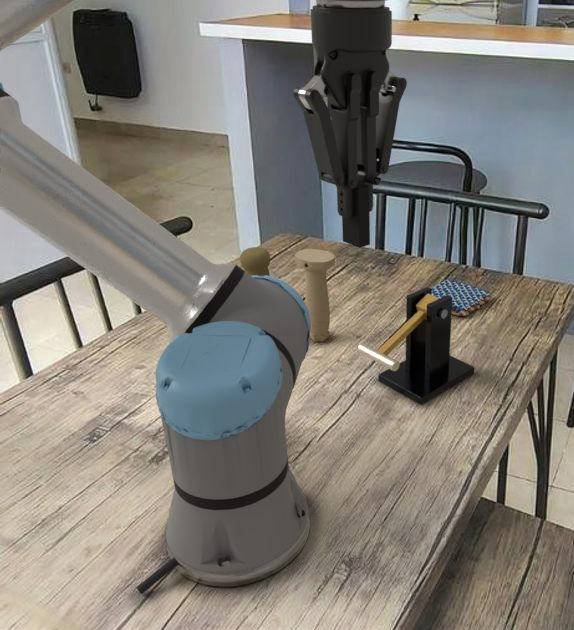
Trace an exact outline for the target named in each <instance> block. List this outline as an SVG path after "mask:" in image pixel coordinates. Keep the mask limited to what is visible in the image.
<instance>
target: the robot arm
mask: <svg viewBox="0 0 574 630" xmlns="http://www.w3.org/2000/svg"><path fill="white" fill-rule="evenodd" d="M78 1H79V0H0V52H1V51H3V50H4V49H5V48H7V47H9V46H10V45H12V44H14V43H15V42H16V41H18V40H19V39H21V38H23V37H24V36H26V35H28V34H29V33H30V32H32V31H34V30H35V29H36V28H38V27H40V26H41V25H42V24H44V23H45V22H48V21H49V20H51V19H52V18H54V17H55V16H57V15H58V14H60V13H61V12H62V11H64V10H66V9H67V8H69V7H70V6H72V5H73V4H75V3H77V2H78ZM386 1H387V0H315V5H313V6H312V8H310V29H311V30H310V31H311V32H310V33H311V44H312V45H313V47H314V50H315V52H316V58H315V62H314V66H313V73H312V74H313V76H312V78H311V79H310V80H309V81H308V83H306V84H305V86H301V85H298V86H295V87H294V88H293V92H292V95H293V97H294V100H295V101H296V103H297V104H298V106H299V107H300V109H301V111H302V112H303V116H304V121H305V125H306V128H307V132H308V136H309V141H310V145H311V148H312V152H313V157H314V160H315V164H316V169H317V172H318V176H319V179H320V180H321V181H322V182H326V183H328V184H332V185H334V186H335V188H336V201H337V213H338V215H339V216H340V217H341V218H342V219H341V220H342V221H341V225H342V228H341V229H342V242H344V243H346V244H349V245H350V246H353V247H356V248H358V249H361V248H364V247H366V246H369V245H371V225H370V224H371V219H370V217H371V216H370V215H371V212H372V211H373V208H374V186H378V185H380V184H381V182H382V177H379V176H380V175H385V174H387V173H388V171H389V168H390V162H391V155H392V150H393V143H394V139H395V132H396V126H397V121H398V116H399V115H398V114H399V108H400V102H401V100H402V97H403V95H404V94H405V91H406V88H407V85H408V82H407V79H406V77H401V76H396V75H395V74H394V73H393V72H392V71H391V70H390V62H389V59H388V57H387V50H389V49H390V48H391V47H392V43H393V12H392V10H391V9H390V7H389V6H386ZM0 211H2V212H3V213H4V214H6V215H7V216H9V217H10V218H11V219H13V220H14V221H16V222H18V223H19V224H20V225H22V226H23V227H25V228H26V229H28V230H29V231H31V232H32V233H33V234H35V235H36V236H38V237H39V238H41V239H42V240H43V241H45V242H46V243H48V244H49V245H51V246H52V247H54V248H55V249H57V250H58V251H59V252H61V253H62V254H64V255H66V256H67V257H68V258H69V259H71V260H72V261H73V262H75V263H77V264H78V265H79V266H81V267H82V268H84V269H85V270H86V271H88V272H90V273H91V274H92V275H94V276H95V277H97V278H98V279H100V280H101V281H102V282H104V283H106V284H107V285H108V286H110V288H112V289H114V290H116V291H117V292H118V293H120V294H121V295H123V296H124V297H126V298H127V299H128V300H130V301H132V303H134V304H136V305H137V306H139V307H140V308H142V309H143V310H145V311H146V312H147V313H149V314H150V315H152V316H153V317H154V318H156V319H157V320H159V321H160V322H162V323H163V324H164V325H165V327H166V330H167V331H166V332H167V337H168V343H169V344H168V345H167V346H166V347H165V348H164V350H163V351H162V353H161V355H160V357H159V359H158V360H157V363H156V368H155V400H156V406H157V408H158V411H159V412H158V413H159V415H160V419H161V424H162V428H163V434H164V438H165V439H164V440H165V444H166V449H167V453H168V459H169V465H170V470H171V474H172V475H171V476H172V479H173V485H174V490H173V493H172V499H171V503H170V507H169V512H168V517H167V520H166V524H165V528H164V538H165V539H164V540H165V545H166V549H167V555H168V557H169V560H168V561H167V562H165V563H164V564H163V565H161V566H160V567H159V568H158V569H156V570H155V571H154V572H153V573H152V574H151V575H149V576H147V578H146V579H144V580H143V581H142V582H141V583H139V584H138V585H137V586H136V589H137V591H138V592H139V593H140V595H143V594H144V593H146V592H147V591H149V590H150V589H151V587H153V586H154V585H155V584H156V583H157V582H159V581H160V580H161V579H162V578H164V577H165V576H166V575H167V574H169V573H170V572H171V571H173V570H174V569H175V570H177V571H178V572H179V573H180V574H181V575H182V576H184V577H185V578H187V579H189V580H191V581H192V582H194V583H197V584H201V585H206V586H210V587H222V588H224V587H237V586H243V585H248V584H252V583H256V582H258V581H261V580H263V579H266V578H268V577H270V576H272V575H274V574H276V573H277V572H279V571H280V570H282V569H284V568H285V567H286V566H288V565H289V564H290V563H291V562H292V561H294V560H295V558H296V557H297V556H298V555H299V554H300V552H301V551H302V549H303V548H304V546H305V544H306V542H307V540H308V537H309V533H310V530H311V529H310V527H311V520H310V507H309V502H308V501H307V498H306V496H305V494H304V493H303V490H302V489H301V487H300V485H299V483H298V481H297V479H296V477H295V476H294V474H293V472H292V470H291V468H290V467H289V466H290V465H289V457H288V456H289V455H288V445H287V443H288V442H287V432H286V415H287V409H288V405H289V403H290V400H291V397H292V394H293V390H294V388H295V385H296V382H297V379H298V376H299V373H300V370H301V367H302V364H303V363H304V361H305V359H306V356H307V353H308V351H309V348H310V340H311V338H310V331H311V321H310V315H309V311H308V309H307V306H306V304H305V301H304V299H303V298H302V296H301V294H300V293H299V292H298V291H297V290H296V289H295V288H294V287H293V286H291V285H290V284H289V283H288V282H286V281H284V280H283V279H280V278H278V277H275V276H272V275H270V276H267V275H265V276H257V275H253V276H251V275H249V274H248V273H247V272H245V271H244V268H241V267H240V266H239V265H238V264H236V263H234V262H228V263H227V262H225V263H212V262H211V261H210V260H208V259H207V258H206V257H205V256H203V255H202V254H200V253H199V252H197V251H196V250H195V249H193V248H192V247H191V246H189V245H188V244H187V243H186V242H184V241H182V240H181V238H179V237H177V236H176V235H174V234H173V233H172V232H171V231H170V230H168V229H166V228H165V227H164V226H162V225H161V224H160V223H158V222H157V221H156V220H154V219H153V218H151V217H150V216H149V215H148V214H146V213H144V211H142V210H141V209H140V208H138V207H137V206H136V205H134V204H133V203H131V202H130V201H128V200H127V199H126V198H125V197H124V196H122V195H120V194H119V193H118V192H116V191H115V190H114V189H112V188H111V187H109V186H108V185H107V184H106V183H104V182H103V181H102V180H100V179H99V178H98V177H96V176H95V175H93V174H92V173H91V172H89V171H88V170H87V169H85V168H84V167H83V166H81V165H80V164H79V163H77V162H76V161H74V160H73V159H72V158H71V157H69V156H67V155H66V153H64V152H62V151H61V150H60V149H58V147H56V146H54V145H53V144H51V143H50V142H49V141H48V140H46V139H45V138H44V137H42V136H41V135H39V134H38V133H37V132H35V131H34V130H33V129H31V128H30V127H29V126H27V125H26V124H25V123H24V122H23V120H22V115H21V109H20V103H19V102H18V101H17V99H15V97H13V96H12V95H10V94H9V93H8V92H7V91H5V89H4V85H3V83H2V82H1V81H0Z"/></svg>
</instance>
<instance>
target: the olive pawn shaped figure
mask: <svg viewBox="0 0 574 630" xmlns="http://www.w3.org/2000/svg"><path fill="white" fill-rule="evenodd" d="M239 260H240V261H239V262H240V264H241V266H242V267H243V270H244V271H245V272H247V273H248V274H249V275H251V276H253V275H257V276H265V275H267V276H271V274H270V270H269V266H270V263H271V255H270V252H269V251H268V250H267V249H266V248H264V247H260V246H252V247H248V248H245V249H244V250H243V251H242V252H241V253H240V257H239Z"/></svg>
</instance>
